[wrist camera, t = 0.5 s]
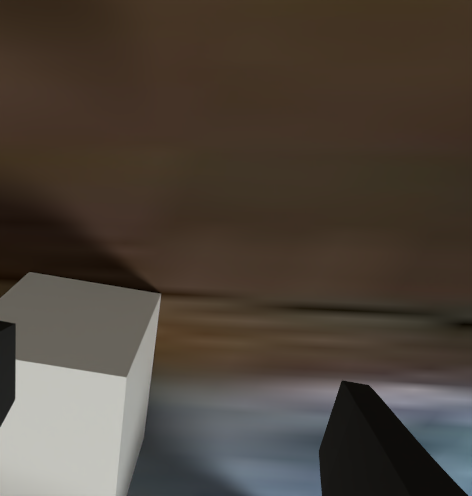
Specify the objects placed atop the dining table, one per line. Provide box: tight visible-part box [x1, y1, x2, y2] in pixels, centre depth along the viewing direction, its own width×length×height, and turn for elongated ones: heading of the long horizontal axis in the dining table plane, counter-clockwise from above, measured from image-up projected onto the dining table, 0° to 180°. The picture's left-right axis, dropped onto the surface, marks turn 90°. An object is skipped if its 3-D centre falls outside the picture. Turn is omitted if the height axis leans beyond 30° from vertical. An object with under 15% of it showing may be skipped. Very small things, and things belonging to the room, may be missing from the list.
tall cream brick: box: [0, 272, 161, 496], centre depth 19 cm, size 9×6×6 cm
